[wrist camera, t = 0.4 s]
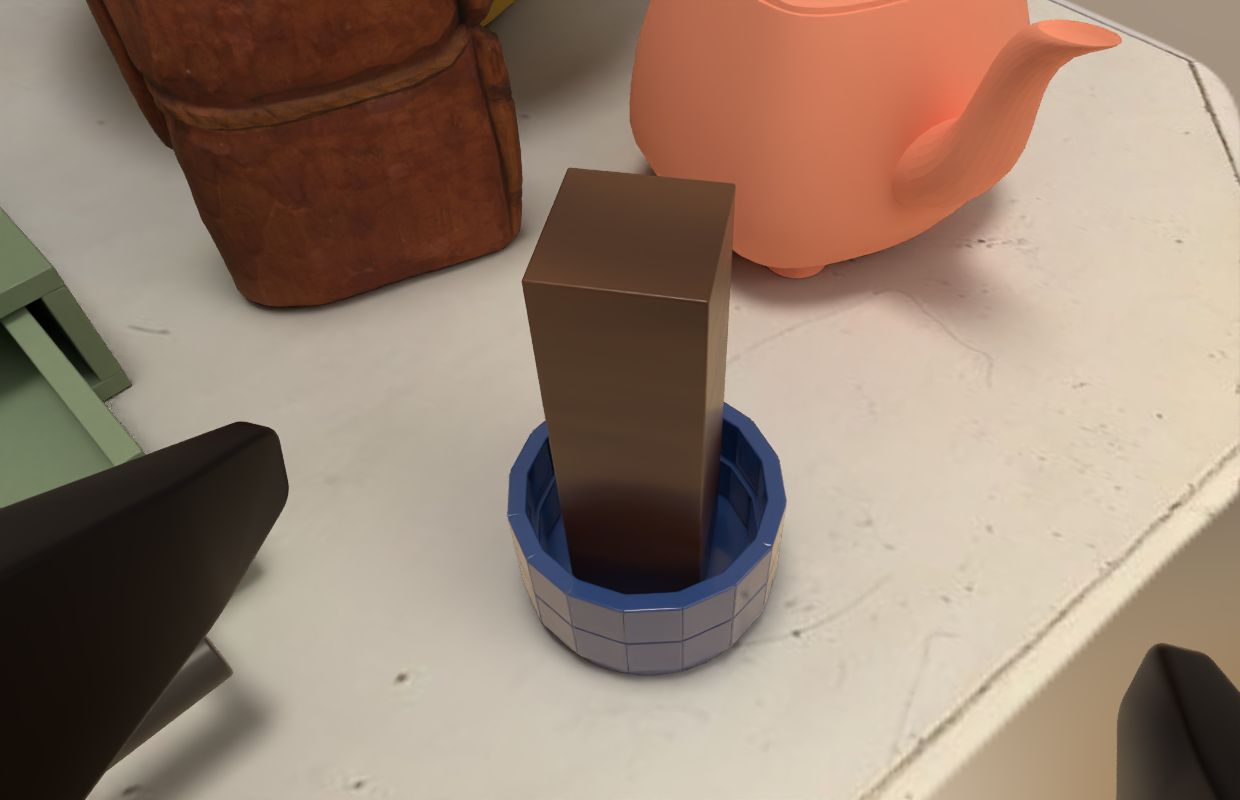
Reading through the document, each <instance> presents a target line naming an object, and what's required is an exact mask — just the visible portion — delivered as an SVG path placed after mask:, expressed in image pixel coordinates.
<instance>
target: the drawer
mask: <svg viewBox="0 0 1240 800" xmlns="http://www.w3.org/2000/svg"><path fill="white" fill-rule="evenodd" d="M144 455H145V453H144V452H143V450H142V449H141V448H140V447H139V445H138V444H137V443H136V442H135V441H134V439H133V438H132V437H131V436H130V435H129V433H128V432H127V431H126V430H125V428H124V427H123V426H122V425H121V424H120V422H119V421H118V420H117V419H116V417H115V416H114V415H113V414H112V413H111V411H110V410H109V409H108V408H107V406H106V405H105V404H104V403H103V402H102V400H101V399H100V398H99V397H98V395H97V394H96V393H95V392H94V391H93V389H92V388H91V387H90V386H89V384H88V383H87V382H86V381H85V380H84V378H83V377H82V376H81V375H80V373H79V372H78V371H77V370H76V369H75V367H74V366H73V365H72V364H71V362H70V361H69V360H68V359H67V358H66V356H65V355H64V354H63V353H62V351H61V350H60V349H59V348H58V347H57V345H56V344H55V343H54V342H53V340H52V339H51V338H50V337H49V336H48V334H47V333H46V332H45V331H44V329H43V328H42V327H41V326H40V325H39V323H38V322H37V321H36V320H35V318H34V317H33V316H32V315H31V314H30V312H29V311H28V310H27V309H26V307H25V306H23V307H21V308H19V309H18V310H16V311H14V312H12V313H10V314H8V315H6V316H4V317H2V318H0V508H3V507H5V506H8V505H11V504H13V503H16V502H19V501H22V500H24V499H27V498H30V497H33V496H35V495H38V494H41V493H43V492H46V491H49V490H52V489H54V488H57V487H60V486H63V485H65V484H68V483H71V482H73V481H76V480H79V479H82V478H84V477H87V476H90V475H93V474H95V473H98V472H101V471H103V470H106V469H109V468H112V467H114V466H117V465H120V464H123V463H125V462H128V461H131V460H134V459H136V458H139V457H142V456H144ZM254 559H255V558H254ZM254 559H253V560H254ZM232 674H233V670H232V668H231V667H230V666H229V664H228V663H227V662H226V660H225V659H224V658H223V656H222V655H221V654H220V652H219V651H218V650H217V649H216V647H215V646H214V645H213V643H212V642H211V641H210V640H209V638H208V637H207V636H205V637H204V639H203V640H202V641H201V643H200V644H199V646H198V647H197V648H196V650H195V651H194V652H193V654H192V655H191V656H190V658H189V659H188V660H187V662H186V663H185V665H184V666H183V667H182V669H181V670H180V671H179V673H178V674H177V675H176V677H175V678H174V679H173V681H172V682H171V684H170V685H169V686H168V688H167V689H166V690H165V692H164V693H163V694H162V696H161V697H160V699H159V700H158V701H157V703H156V704H155V705H154V707H153V708H152V709H151V711H150V712H149V713H148V715H147V716H146V718H145V719H144V720H143V722H142V723H141V724H140V726H139V727H138V728H137V730H136V731H135V732H134V734H133V735H132V737H131V738H130V739H129V741H128V742H127V743H126V745H125V746H124V747H123V749H122V750H121V751H120V753H119V754H118V756H117V757H116V758H115V760H114V761H113V762H112V764H111V765H110V766H109V768H108V769H107V770H109V769H110V768H111V767H113V766H114V765H115V764H117V763H118V762H119V761H120V760H122V759H123V758H124V757H126V756H127V755H128V754H130V753H131V752H132V751H134V750H135V749H136V748H137V747H139V746H140V745H141V744H143V743H144V742H145V741H147V740H148V739H149V738H151V737H152V736H153V735H154V734H156V733H157V732H158V731H160V730H161V729H162V728H164V727H165V726H166V725H167V724H169V723H170V722H171V721H173V720H174V719H175V718H177V717H178V716H179V715H181V714H182V713H183V712H184V711H186V710H187V709H188V708H190V707H191V706H192V705H194V704H195V703H196V702H198V701H199V700H200V699H201V698H203V697H204V696H205V695H207V694H208V693H209V692H211V691H212V690H213V689H215V688H216V687H217V686H218V685H220V684H221V683H222V682H224V681H225V680H226V679H228V678H229V677H230V676H231V675H232Z"/></svg>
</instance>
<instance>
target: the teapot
mask: <svg viewBox="0 0 1240 800" xmlns="http://www.w3.org/2000/svg"><path fill="white" fill-rule="evenodd" d="M1121 41H1122V38H1121V37H1120V36H1119V35H1117V34H1116V33H1114V32H1112V31H1110V30H1107V29H1105V28H1102V27H1099V26H1095V25H1091V24H1088V23H1083V22H1078V21H1070V20H1047V21H1042V22H1037V23H1034V24H1032V25H1030V22H1029V13H1028V6H1027V0H651V1H650V4H649V7H648V10H647V13H646V16H645V19H644V22H643V25H642V28H641V32H640V36H639V40H638V45H637V49H636V54H635V61H634V67H633V74H632V81H631V92H630V124H631V128H632V131H633V135H634V138H635V141H636V143H637V145H638V146H639V148H640V150H641V151H642V153H643V155H644V156H645V158H646V159H647V161H648V163H649V164H650V166H651V167H652V169H653V170H654V172H655V173H656V174H657V176H662V177H673V178H684V179H694V180H705V181H715V182H726V183H734V184H735V186H736V193H735V211H734V228H733V246H732V250H734V251H735V252H736V253H738V254H739V255H741V256H742V257H744V258H747V259H749V260H751V261H753V262H755V263H758V264H761V265H765V266H768V268H769V269H771V270H772V271H773V272H775V273H777V274H778V275H781V276H784V277H788V278H806V277H810V276H813V275H815V274H817V273H818V272H820V271H821V270H822V269H823V268H824V266H825V265H827V264H831V263H836V262H840V261H845V260H849V259H853V258H856V257H860V256H864V255H868V254H871V253H874V252H877V251H880V250H884V249H887V248H890V247H892V246H894V245H897V244H899V243H902V242H904V241H907V240H909V239H911V238H913V237H915V236H916V235H918V234H920V233H922V232H924V231H926V230H927V229H929V228H930V227H932V226H934V225H935V224H937V223H938V222H940V221H941V220H942V219H944V218H945V217H947V216H948V215H950V214H951V213H952V212H954V211H955V210H957V209H958V208H959V207H961V206H962V205H963V204H965V203H966V202H967V201H968V200H970V199H972V198H975V197H977V196H979V195H980V194H982V193H984V192H986V191H988V190H989V189H990V188H992V187H993V186H994V185H995V184H996V183H997V182H999V181H1000V180H1001V179H1002V178H1003V177H1004V176H1005V175H1006V174H1007V173H1008V172H1010V170H1011V169H1012V167H1013V166H1014V165H1015V163H1016V162H1017V160H1018V159H1019V157H1020V155H1021V154H1022V152H1023V150H1024V149H1025V146H1026V143H1027V141H1028V138H1029V136H1030V133H1031V130H1032V127H1033V124H1034V121H1035V118H1036V115H1037V112H1038V109H1039V106H1040V103H1041V100H1042V97H1043V94H1044V92H1045V90H1046V88H1047V86H1048V83H1049V81H1050V80H1051V79H1052V77H1053V76H1054V75H1055V73H1056V72H1057V71H1058V70H1059V68H1060V67H1062V66H1063V65H1064V64H1066V63H1067V62H1069V61H1070V60H1071V59H1073V58H1074V57H1077V56H1081V55H1084V54H1087V53H1091V52H1095V51H1100V50H1104V49H1108V48H1112V47H1115V46H1117V45H1118V44H1120V43H1121Z"/></svg>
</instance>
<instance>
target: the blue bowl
mask: <svg viewBox="0 0 1240 800" xmlns="http://www.w3.org/2000/svg"><path fill="white" fill-rule="evenodd" d="M786 502H787V500H786V495H785V489H784V483H783V477H782V472H781V466H780V460H779V458H778V456H777V454H776V453H775V451H774V450H773V449H772V447H771V446H770V444H769V443H768V442H767V440H766V439H765V437H764V436H763V435H762V433H761V432H760V430H759V429H758V427H757V426H756V425H755V423H754V422H753V421H752V420H751V419H750V418H748V417H747V416H745V415H744V414H742V413H741V412H739V411H738V410H736V409H735V408H733V407H731V406H730V405H728V404H727V403H725V402H724V406H723V424H722V442H721V459H720V477H719V495H718V513H717V519H716V524H715V530H714V535H713V541H712V546H711V552H710V558H709V563H708V569H707V574H706V580H704V581H702V582H699V583H697V584H695V585H692V586H690V587H688V588H685V589H683V590H681V591H679V592H668V593H648V594H629V595H625V594H622V593H619V592H616V591H613V590H609V589H606V588H603V587H600V586H597V585H594V584H591V583H587V582H584V581H581V580H578V579H577V578H576V577H575V576H573V575H572V570H571V564H570V559H569V553H568V547H567V541H566V535H565V530H564V524H563V518H562V512H561V506H560V501H559V495H558V489H557V483H556V477H555V471H554V466H553V460H552V454H551V448H550V442H549V437H548V431H547V425H546V421H544V422H543V423H542V424H541V425H539V426H538V427H537V428H536V429H535V430H533V432H532V433H531V434H530V436H529V438H528V440H527V441H526V443H525V445H524V447H523V449H522V451H521V452H520V454H519V456H518V458H517V460H516V462H515V463H514V465H513V467H512V469H511V472H510V474H509V492H508V511H507V517H508V522H509V526H510V530H511V534H512V538H513V542H514V546H515V549H516V553H517V557H518V561H519V565H520V569H521V573H522V577H523V581H524V584H525V586H526V589H527V591H528V593H529V595H530V598H531V600H532V602H533V605H534V607H535V609H536V611H537V614H538V616H539V618H540V620H541V621H542V622H543V624H544V625H545V626H546V627H547V628H548V629H549V630H551V631H552V632H553V633H554V634H555V635H556V636H557V637H559V638H560V639H561V640H562V642H563V643H564V644H565V645H567V646H568V647H569V648H571V649H572V650H573V651H574V652H575V653H577V654H578V655H580V656H582V657H584V658H585V659H587V660H589V661H591V662H593V663H595V664H597V665H600V666H602V667H605V668H608V669H611V670H615V671H619V672H622V673H629V674H637V675H660V674H669V673H675V672H679V671H683V670H687V669H690V668H693V667H695V666H698V665H700V664H703V663H705V662H707V661H709V660H711V659H712V658H714V657H716V656H718V655H719V654H721V653H722V652H723V651H725V650H726V649H728V648H729V647H731V646H732V645H733V644H734V643H735V642H736V641H737V640H738V639H739V638H740V637H741V636H742V635H743V633H744V632H745V631H746V630H747V629H748V628H749V627H750V625H751V624H752V623H753V622H754V621H755V620H756V619H757V618H758V617H759V616H760V614H761V613H762V611H763V609H764V608H765V604H766V601H767V598H768V595H769V591H770V588H771V585H772V582H773V578H774V575H775V572H776V568H777V561H778V555H779V548H780V542H781V536H782V530H783V523H784V517H785V510H786Z"/></svg>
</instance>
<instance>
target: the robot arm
mask: <svg viewBox="0 0 1240 800" xmlns="http://www.w3.org/2000/svg"><path fill="white" fill-rule="evenodd" d="M288 490H289V485H288V479H287V474H286V469H285V464H284V459H283V454H282V450H281V445H280V440H279V437H278V435H277V434H276V432H275V431H274V430H272V429H271V428H269V427H265V426H261V425H257V424H253V423H249V422H235V423H232V424H229V425H226V426H224V427H221V428H218V429H215V430H213V431H210V432H207V433H204V434H202V435H199V436H196V437H194V438H191V439H188V440H185V441H183V442H180V443H177V444H174V445H172V446H169V447H166V448H164V449H161V450H158V451H155V452H153V453H150V454H147V455H144V456H142V457H139V458H136V459H134V460H131V461H128V462H125V463H123V464H120V465H117V466H114V467H112V468H109V469H106V470H103V471H101V472H98V473H95V474H93V475H90V476H87V477H84V478H82V479H79V480H76V481H73V482H71V483H68V484H65V485H63V486H60V487H57V488H54V489H52V490H49V491H46V492H43V493H41V494H38V495H35V496H33V497H30V498H27V499H24V500H22V501H19V502H16V503H13V504H11V505H8V506H5V507H3V508H0V800H85V799H86V798H87V796H88V795H89V794H90V792H91V791H92V790H93V788H94V787H95V785H96V784H97V783H98V781H99V780H100V779H101V777H102V776H103V775H104V773H105V772H106V771H107V769H108V768H109V766H110V765H111V764H112V762H113V761H114V760H115V758H116V757H117V756H118V754H119V753H120V751H121V750H122V749H123V747H124V746H125V745H126V743H127V742H128V741H129V739H130V738H131V737H132V735H133V734H134V732H135V731H136V730H137V728H138V727H139V726H140V724H141V723H142V722H143V720H144V719H145V718H146V716H147V715H148V713H149V712H150V711H151V709H152V708H153V707H154V705H155V704H156V703H157V701H158V700H159V699H160V697H161V696H162V694H163V693H164V692H165V690H166V689H167V688H168V686H169V685H170V684H171V682H172V681H173V679H174V678H175V677H176V675H177V674H178V673H179V671H180V670H181V669H182V667H183V666H184V665H185V663H186V662H187V660H188V659H189V658H190V656H191V655H192V654H193V652H194V651H195V650H196V648H197V647H198V646H199V644H200V643H201V641H202V640H203V639H204V637H205V636H206V635H207V633H208V632H209V630H210V629H211V627H212V626H213V625H214V623H215V622H216V620H217V619H218V617H219V616H220V614H221V613H222V611H223V609H224V608H225V606H226V605H227V603H228V602H229V600H230V598H231V597H232V595H233V593H234V592H235V590H236V588H237V586H238V585H239V583H240V581H241V580H242V578H243V576H244V575H245V573H246V571H247V569H248V568H249V566H250V564H251V563H252V561H253V559H254V558H255V556H256V554H257V552H258V551H259V549H260V547H261V546H262V544H263V542H264V541H265V539H266V537H267V535H268V534H269V532H270V530H271V529H272V527H273V525H274V524H275V522H276V520H277V518H278V517H279V515H280V513H281V512H282V510H283V508H284V506H285V504H286V501H287V497H288ZM1116 800H1240V692H1239V691H1238V689H1237V688H1236V687H1235V686H1234V685H1233V684H1232V682H1231V681H1230V680H1229V679H1228V678H1227V676H1226V675H1225V674H1224V673H1223V672H1222V670H1221V669H1220V668H1219V667H1218V666H1217V665H1216V663H1215V662H1214V661H1213V660H1212V659H1211V658H1209V656H1207V655H1206V654H1204V653H1201V652H1199V651H1195V650H1191V649H1187V648H1182V647H1178V646H1174V645H1170V644H1166V643H1158V644H1155V645H1153V646H1152V647H1151V648H1150V649H1149V650H1148V652H1147V654H1146V655H1145V657H1144V659H1143V661H1142V663H1141V665H1140V667H1139V669H1138V671H1137V673H1136V675H1135V677H1134V678H1133V680H1132V682H1131V684H1130V686H1129V688H1128V690H1127V692H1126V693H1125V695H1124V697H1123V699H1122V702H1121V705H1120V708H1119V713H1118V720H1117V794H1116Z"/></svg>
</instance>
